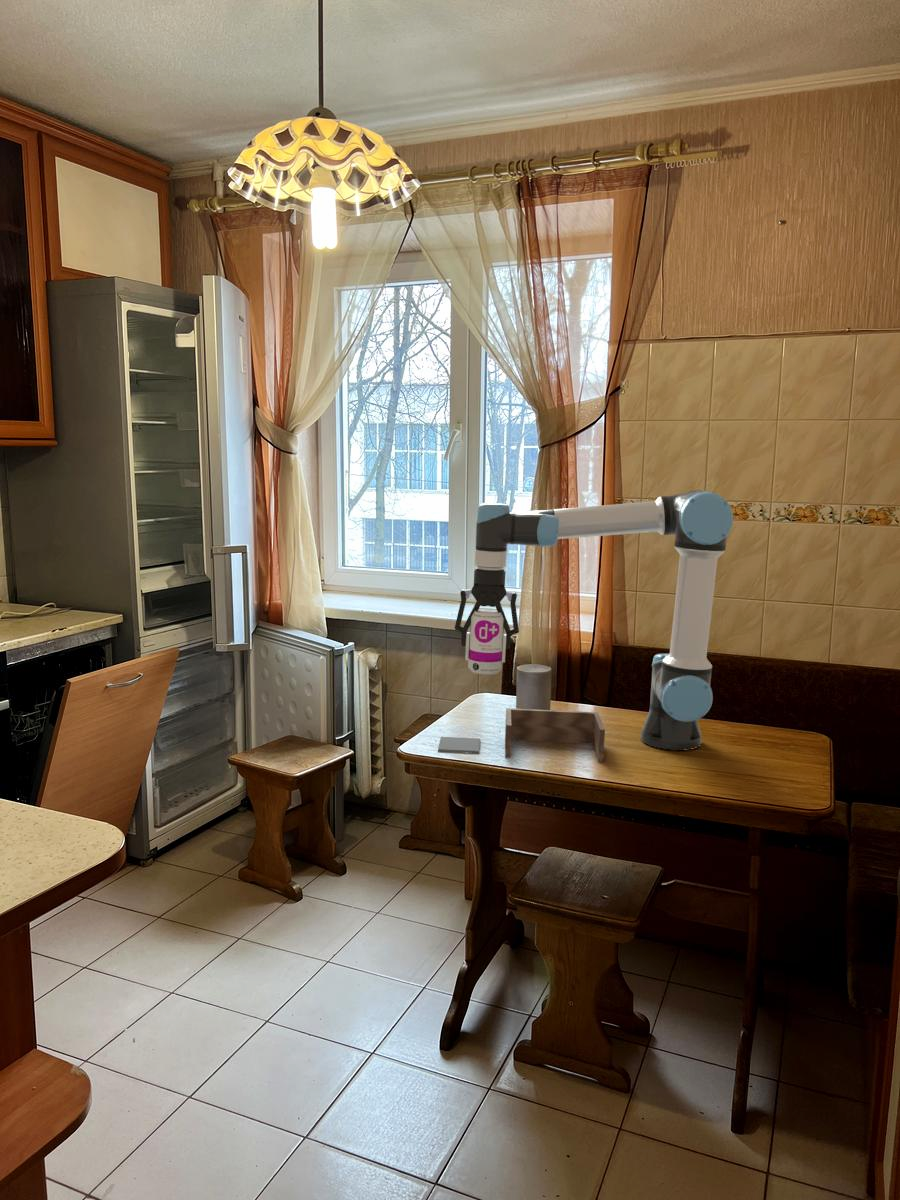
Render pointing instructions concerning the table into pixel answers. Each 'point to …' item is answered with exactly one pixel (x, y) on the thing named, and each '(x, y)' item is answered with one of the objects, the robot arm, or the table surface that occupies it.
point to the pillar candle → (533, 687)
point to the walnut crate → (555, 728)
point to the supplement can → (486, 641)
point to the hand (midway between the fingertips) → (485, 660)
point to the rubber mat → (459, 744)
